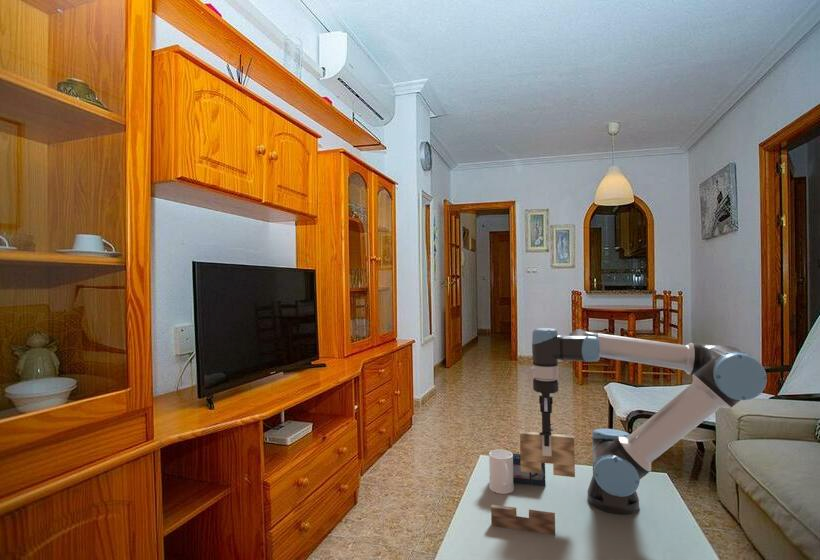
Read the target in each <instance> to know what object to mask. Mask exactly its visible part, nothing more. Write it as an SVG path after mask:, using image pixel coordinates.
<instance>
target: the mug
mask: <svg viewBox="0 0 820 560" xmlns="http://www.w3.org/2000/svg"><path fill="white" fill-rule="evenodd" d="M488 458H489V465H488V466H489V489H490V491H492V492H493V493H495V492H496V494H500V495H506V494H511V493H513V492H514V491H515V487H514V484H515V483H513V454H512V452H511V451H509V450H507V449H494V450H490V451H489V453H488Z"/></svg>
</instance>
